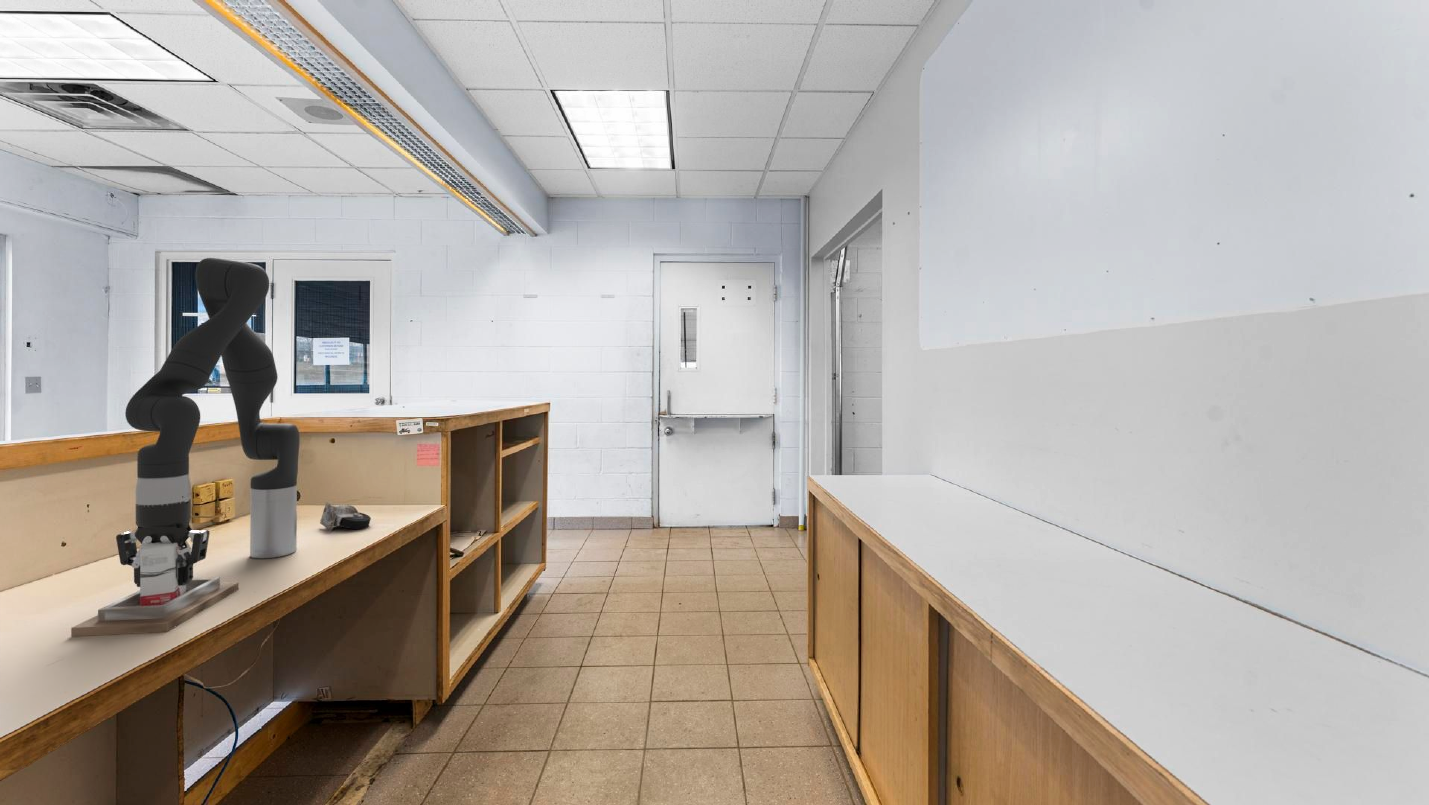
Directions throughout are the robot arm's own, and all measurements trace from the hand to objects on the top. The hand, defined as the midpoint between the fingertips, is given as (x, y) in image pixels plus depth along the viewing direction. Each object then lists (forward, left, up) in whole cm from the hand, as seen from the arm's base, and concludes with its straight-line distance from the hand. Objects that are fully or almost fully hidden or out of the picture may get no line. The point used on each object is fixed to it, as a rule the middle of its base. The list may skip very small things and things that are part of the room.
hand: (164, 584), depth 107 cm
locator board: (0, 0, -5) cm, 5 cm away
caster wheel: (-60, +8, -5) cm, 61 cm away
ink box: (0, 0, -3) cm, 3 cm away
